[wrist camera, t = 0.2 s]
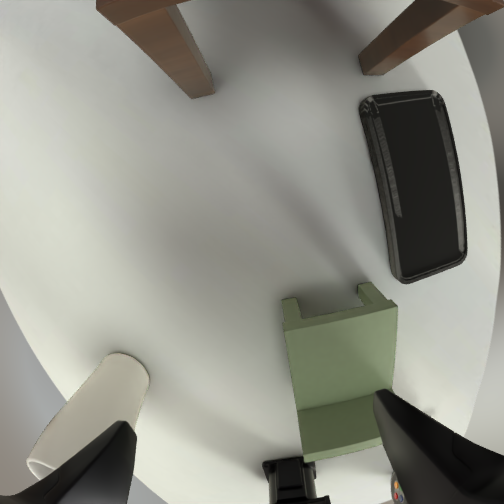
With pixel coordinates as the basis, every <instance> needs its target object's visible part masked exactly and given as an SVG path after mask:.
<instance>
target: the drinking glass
mask: <svg viewBox="0 0 504 504" xmlns="http://www.w3.org/2000/svg"><path fill="white" fill-rule="evenodd" d="M149 382H150V381H149V376H148V373H147V371H146V370H145V368H144V367H143V366H142V365H141V364H140V363H139V362H138V361H137V360H135V359H134V358H132V357H130V356H128V355H125V354H121V353H113V354H110V355H108V356H106V357H105V358H104V359H103V360H102V361H101V363H100V364H99V366H98V367H97V368H96V369H95V371H94V372H93V373H92V374H91V375H90V376H89V377H88V379H87V380H86V381H85V382H84V383H83V384H82V385H81V387H80V388H79V389H78V390H77V391H76V392H75V393H74V395H73V396H72V397H71V398H70V399H69V400H68V401H67V403H66V404H65V405H64V406H63V407H62V408H61V409H60V411H59V412H58V413H57V414H56V415H55V416H54V418H53V419H52V420H51V421H50V423H49V424H48V425H47V427H46V428H45V429H44V431H43V432H42V434H41V435H40V437H39V439H38V440H37V442H36V443H35V445H34V447H33V449H32V451H31V453H30V455H29V456H28V458H27V460H26V463H27V465H28V468H29V469H30V471H31V472H32V473H33V474H34V475H35V476H36V477H37V478H38V479H39V480H42V479H43V478H45V477H46V476H48V475H49V474H50V473H52V472H53V471H54V470H56V469H57V468H59V467H60V466H61V465H62V464H64V463H65V462H66V461H67V460H69V459H70V458H71V457H72V456H74V455H75V454H76V453H78V452H79V451H80V450H81V449H83V448H84V447H85V446H86V445H88V444H89V443H90V442H91V441H93V440H94V439H95V438H96V437H97V436H99V435H100V434H101V433H102V432H104V431H105V430H106V429H107V428H108V427H110V426H111V425H112V424H113V423H115V422H116V421H118V420H122V421H127V422H128V423H129V424H130V426H131V427H132V429H133V430H134V431H135V427H136V423H137V420H138V417H139V413H140V410H141V407H142V403H143V400H144V397H145V395H146V393H147V390H148V388H149Z"/></svg>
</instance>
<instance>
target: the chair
mask: <svg viewBox="0 0 504 504" xmlns="http://www.w3.org/2000/svg"><path fill="white" fill-rule="evenodd" d="M358 294H359V298H360V300H361V301H362V303H363V304H364V305H365V306H362V307H357V308H353V309H349V310H344V311H339V312H335V313H330V314H325V315H320V316H315V317H310V318H305V319H302V316H301V313H300V309H299V306H298V303H297V299H296V298H290V299H284V300H282V301H281V302H282V308H283V313H284V319H285V322H283V330H284V336H285V342H286V347H287V353H288V359H289V365H290V372H291V378H292V384H293V390H294V396H295V403H296V409H297V415H298V422H299V429H300V436H301V443H302V450H303V457H304V462H305V463H306V462H312V461H317V460H322V459H327V458H332V457H336V456H341V455H345V454H349V453H353V452H357V451H361V450H364V449H368V448H371V447H375V446H378V445H381V444H383V443H382V440H381V436H380V433H379V429H378V426H377V422H376V419H375V416H374V412H373V398H374V392H375V391H377V390H380V389H384V388H386V389H388V390H389V391H391V392H392V393H394V391H393V390H392V382H393V373H394V363H395V351H396V337H397V316H398V306H397V305H396V304H395V303H394V302H393V301H392V300H387V299H386V298H385V297H384V295H383V294H382V293H381V292H380V291H379V290H378V289H377V288H376V287H375V286H374V285H373V284H372V283H371V282H368V283H364V284H359V285H358ZM394 394H395V393H394Z"/></svg>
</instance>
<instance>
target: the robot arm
mask: <svg viewBox="0 0 504 504" xmlns="http://www.w3.org/2000/svg"><path fill="white" fill-rule="evenodd" d="M373 412H374V416H375V419H376V422H377V426H378V429H379V433H380V436H381V440H382V443H383V446H384V449H385V451H386V454H387V456H388V458H389V460H390V463H391V465H392V467H393V470H394V472H395V475H396V477H397V479H398V482H399V484H400V487H401V489H402V491H403V494H404V496H405V499H406V501H407V504H504V456H503V455H501V454H498V453H496V452H493V451H491V450H488V449H486V448H484V447H481V446H479V445H477V444H475V443H473V442H471V441H469V440H468V439H466V438H464V437H462V436H461V435H459V434H457V433H454V431H452V430H451V429H449V428H447V427H446V426H444V425H442V424H441V423H439V422H438V421H436V420H434V419H433V418H431V417H430V416H428V415H427V414H425V413H423V412H422V411H420V410H419V409H417V408H416V407H414V406H412V405H411V404H409V403H408V402H406V401H405V400H403V399H402V398H400V397H399V396H397V395H395V394H394V393H392V392H391V391H389V390H388V389H386V388H384V389H380V390H377V391H375V392H374V398H373ZM136 444H137V436H136V433H135V432H134V430H133V429H132V427H131V426H130V424H129V423H128V422H127V421H122V420H118V421H116V422H115V423H113V424H112V425H111V426H110V427H108V428H107V429H106V430H105V431H104V432H102V433H101V434H100V435H99V436H97V437H96V438H95V439H94V440H93V441H91V442H90V443H89V444H88V445H86V446H85V447H84V448H83V449H81V450H80V451H79V452H78V453H76V454H75V455H74V456H72V457H71V458H70V459H69V460H67V461H66V462H65V463H64V464H62V465H61V466H60V467H59V468H57V469H56V470H54V471H53V472H52V473H50V474H49V475H48V476H46V477H45V478H43V479H42V480H40V481H39V482H37V483H35V484H34V485H32V486H30V487H29V488H27V489H25V490H24V491H22V492H20V493H18V494H15V495H11V496H2V495H0V504H127V500H128V495H129V490H130V486H131V481H132V476H133V471H134V463H135V453H136ZM262 467H263V470H264V472H265V475H266V478H267V480H268V483H269V501H270V504H331V503H330V498H329V495H327V496H324V497H320V498H317V495H316V489H315V482H314V479H316V468H315V461H312V462H306V463H305V462H304V457H299V458H293V459H286V460H278V461H270V462H264V463H262Z"/></svg>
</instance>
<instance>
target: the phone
mask: <svg viewBox="0 0 504 504" xmlns="http://www.w3.org/2000/svg"><path fill="white" fill-rule="evenodd" d="M359 112H360V116H361V120H362V123H363V127H364V130H365V134H366V138H367V142H368V145H369V149H370V153H371V157H372V162H373V166H374V170H375V175H376V179H377V184H378V189H379V194H380V199H381V204H382V210H383V215H384V221H385V228H386V234H387V241H388V248H389V256H390V264H391V271H392V274H393V276H394V277H395V278H396V279H397V280H398V281H399V282H401V283H402V284H410V283H413V282H416V281H419V280H421V279H424V278H427V277H430V276H432V275H435V274H438V273H440V272H443V271H445V270H448V269H451V268H453V267H456V266H458V265H460V264H462V263H463V261H464V260H465V258H466V256H467V228H466V215H465V205H464V196H463V188H462V180H461V174H460V168H459V162H458V156H457V151H456V146H455V141H454V137H453V132H452V128H451V124H450V120H449V116H448V113H447V109H446V105H445V102H444V100H443V98H442V96H441V95H440V94H439V93H438V92H436V91H434V90H422V91H408V92H396V93H387V94H378V95H372V96H370V97H368V98H366V99H365V100H363V101H362V102H361V104H360V108H359Z"/></svg>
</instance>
